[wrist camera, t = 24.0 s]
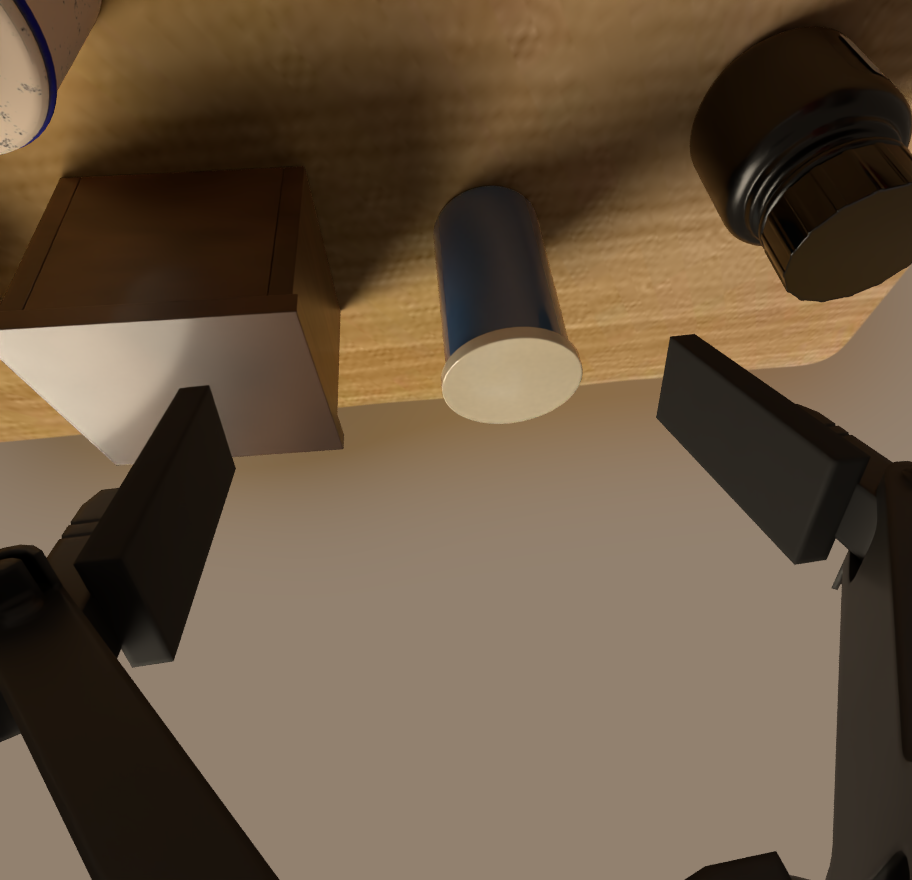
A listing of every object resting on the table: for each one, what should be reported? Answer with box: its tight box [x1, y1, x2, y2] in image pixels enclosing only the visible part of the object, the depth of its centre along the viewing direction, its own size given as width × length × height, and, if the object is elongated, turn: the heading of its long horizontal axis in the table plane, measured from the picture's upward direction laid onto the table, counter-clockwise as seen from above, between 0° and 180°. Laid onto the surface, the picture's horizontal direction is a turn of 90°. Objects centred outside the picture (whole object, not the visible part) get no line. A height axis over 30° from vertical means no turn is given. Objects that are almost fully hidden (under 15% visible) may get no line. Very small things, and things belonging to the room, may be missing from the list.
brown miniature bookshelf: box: [0, 166, 344, 465], centre depth 34 cm, size 15×13×12 cm
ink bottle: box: [690, 26, 912, 302], centre depth 29 cm, size 10×9×12 cm
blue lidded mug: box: [433, 186, 582, 424], centre depth 35 cm, size 8×11×13 cm
